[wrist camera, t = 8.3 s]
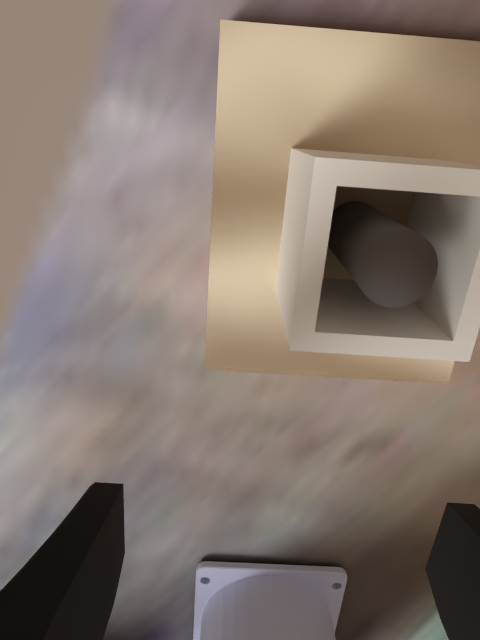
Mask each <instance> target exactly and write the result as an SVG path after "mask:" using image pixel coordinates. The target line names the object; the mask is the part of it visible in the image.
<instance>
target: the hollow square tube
mask: <svg viewBox="0 0 480 640" xmlns="http://www.w3.org/2000/svg"><path fill="white" fill-rule="evenodd" d="M337 186H346V187H359V188H372V189H385V190H399V191H412V192H414V195H413V200H412V204H411V209H410V214H409V218H408V223H407V228H409V229H411V230H412V231H414V232H416V233H417V234H419V235H421V236H422V237H424V238H426V239H427V240H428V241H429V242H430V243H431V245H432V246H433V248H434V249H435V252H436V254H437V258H438V270H437V274H436V278H435V280H434V282H433V284H432V286H431V287H430V288H429V290H428V291H427V292H426V293H425V294H424V295H423V296H422V297H421V298H419V299H418V300H416V301H415V302H413V303H411V304H408V305H405V306H401V307H385V306H381V305H379V304H376V303H375V302H373V301H371V300H370V299H369V298H368V297H367V296H366V295H365V294H364V292H363V291H362V290H361V288H360V287H359V286H358V284H357V283H356V282H355V281H354V280H344V279H330V278H323V274H324V267H325V260H326V254H327V247H328V241H329V234H330V227H331V221H332V214H333V207H334V201H335V194H336V187H337ZM276 294H277V299H278V303H279V307H280V311H281V315H282V320H283V324H284V328H285V332H286V336H287V341H288V345H289V349H290V351H304V352H320V353H336V354H352V355H368V356H384V357H400V358H416V359H432V360H448V361H464V362H469V361H470V358H471V354H472V351H473V348H474V345H475V341H476V338H477V335H478V332H479V328H480V166H477V165H470V164H464V163H458V162H451V161H445V160H439V159H426V158H413V157H400V156H387V155H375V154H362V153H349V152H336V151H324V150H311V149H298V148H291V153H290V162H289V171H288V181H287V190H286V199H285V208H284V217H283V226H282V235H281V244H280V254H279V263H278V272H277V281H276Z"/></svg>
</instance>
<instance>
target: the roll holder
mask: <svg viewBox="0 0 480 640" xmlns="http://www.w3.org/2000/svg"><path fill="white" fill-rule="evenodd" d="M291 148H298V149H311V150H324V151H336V152H349V153H362V154H375V155H387V156H400V157H413V158H426V159H439V160H445V161H451V162H458V163H464V164H470V165H477V166H480V41H470V40H458V39H446V38H434V37H422V36H410V35H398V34H386V33H374V32H362V31H351V30H339V29H327V28H315V27H303V26H291V25H279V24H267V23H255V22H243V21H231V20H221V21H220V43H219V65H218V87H217V109H216V131H215V153H214V176H213V198H212V220H211V242H210V264H209V286H208V308H207V331H206V353H205V370H220V371H237V372H255V373H272V374H289V375H306V376H324V377H341V378H358V379H376V380H393V381H410V382H427V383H445V384H448V383H449V380H450V376H451V373H452V369H453V366H454V362H455V361H448V360H432V359H416V358H400V357H384V356H368V355H352V354H336V353H320V352H304V351H290V349H289V345H288V341H287V336H286V332H285V328H284V324H283V320H282V315H281V311H280V307H279V303H278V299H277V294H276V281H277V272H278V263H279V254H280V244H281V235H282V226H283V217H284V208H285V199H286V190H287V181H288V171H289V162H290V153H291ZM413 195H414V192H412V191H399V190H385V189H372V188H359V187H346V186H337V187H336V194H335V201H334V207H333V214H332V221H331V227H330V234H329V241H328V247H327V254H326V260H325V267H324V274H323V278H330V279H344V280H354V281H355V282H356V283H357V284H358V286H359V287H360V288H361V290H362V291H363V292H364V294H365V295H366V296H367V297H368V298H369V299H370V300H371V301H373V302H375V303H376V304H379V305H381V306H385V307H401V306H405V305H408V304H411V303H413V302H415V301H416V300H418V299H419V298H421V297H422V296H423V295H424V294H425V293H426V292H427V291H428V290H429V288H430V287H431V286H432V284H433V282H434V280H435V278H436V274H437V270H438V258H437V254H436V252H435V249H434V248H433V246H432V245H431V243H430V242H429V241H428V240H427V239H426V238H424V237H422V236H421V235H419V234H417V233H416V232H414V231H412V230H411V229H409V228H407V223H408V218H409V214H410V209H411V204H412V200H413Z"/></svg>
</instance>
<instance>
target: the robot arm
mask: <svg viewBox="0 0 480 640" xmlns="http://www.w3.org/2000/svg"><path fill="white" fill-rule="evenodd" d="M124 554H125V543H124V498H123V484H115V483H98V482H95V483H94V484H92V485H91V486H90V487H89V488H88V490H87V491H86V492H85V494H84V495H83V496H82V497H81V499H80V500H79V501H78V503H77V504H76V505H75V506H74V508H73V509H72V510H71V512H70V513H69V514H68V515H67V516H66V518H65V519H64V520H63V521H62V523H61V524H60V525H59V526H58V527H57V529H56V530H55V531H54V532H53V533H52V535H51V536H50V537H49V538H48V539H47V540H46V541H45V543H44V544H43V545H42V546H41V547H40V548H39V549H38V551H37V552H36V553H35V554H34V555H33V556H32V557H31V559H30V560H29V561H28V562H27V563H26V564H25V565H24V567H23V568H22V569H21V570H20V571H19V572H18V573H17V574H16V575H15V576H14V577H13V578H12V579H11V580H10V581H9V582H8V584H7V585H6V586H5V587H4V588H3V589H2V590H1V591H0V640H103V637H104V633H105V630H106V627H107V624H108V621H109V618H110V614H111V611H112V608H113V605H114V601H115V596H116V592H117V587H118V583H119V578H120V573H121V568H122V563H123V558H124ZM426 572H427V575H428V579H429V582H430V586H431V589H432V593H433V596H434V599H435V603H436V606H437V609H438V612H439V615H440V619H441V621H442V624H443V626H444V628H445V631H446V633H447V636H448V638H449V640H480V509H479V508H478V507H477V506H475V505H474V504H459V503H447V505H446V508H445V511H444V514H443V517H442V520H441V524H440V527H439V530H438V533H437V536H436V539H435V542H434V545H433V548H432V551H431V554H430V557H429V560H428V563H427V566H426ZM346 583H347V574H346V571H345V569H343V568H341V567H328V566H305V565H282V564H260V563H237V562H214V561H203V562H201V563H199V564H198V565H197V568H196V586H195V607H194V629H193V640H336V638H335V630H336V626H337V622H338V617H339V613H340V609H341V604H342V600H343V596H344V591H345V587H346Z"/></svg>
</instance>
